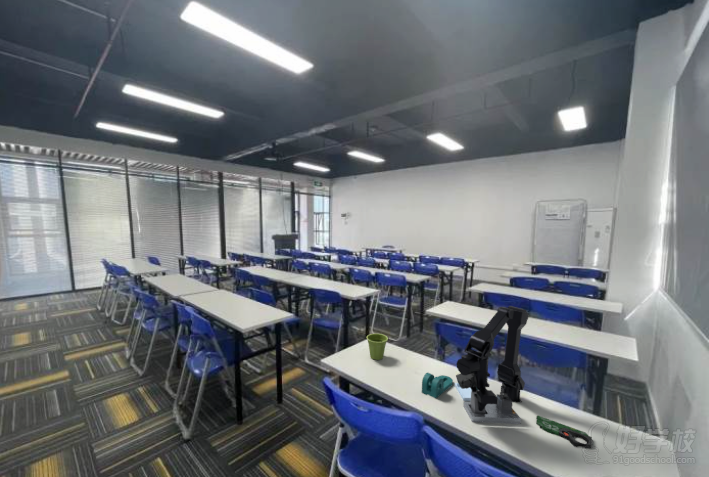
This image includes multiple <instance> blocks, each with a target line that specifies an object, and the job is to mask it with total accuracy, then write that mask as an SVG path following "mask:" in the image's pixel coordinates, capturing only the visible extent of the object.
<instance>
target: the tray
mask: <svg viewBox="0 0 709 477" xmlns="http://www.w3.org/2000/svg"><path fill="white" fill-rule="evenodd" d="M453 384H454V387H455V389H456V391H457V393H458V394H459V396H460V398H461V400H462V401H463V402H471V392H472V391H471V388H467V389H466V388H465V389H462V388H461V387H460V385H459V384H458V382H454V383H453Z"/></svg>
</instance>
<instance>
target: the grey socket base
mask: <svg viewBox="0 0 709 477" xmlns="http://www.w3.org/2000/svg"><path fill="white" fill-rule="evenodd" d="M496 396H497V398H498V404H487V405H486V406H485V414H474V413H473V412H472V410H471V401H463V404H462V407H463V409H464V410H465V412H466V414H467V416H468V417H469V419H470V421H471V422H472V423H489V424H491V423H492V424H515V425H516V424H517V425H519V424H521V421H522V418H521V417H520V415H519V414H518V413H517V412H516V411H515V410H514V409H513V402H512V400H511V399H510V398H509V397H508V395H507V394H506V393H504V392H503V393H502V395H501V394H500V393H499V394H496Z"/></svg>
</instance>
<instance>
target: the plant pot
mask: <svg viewBox="0 0 709 477" xmlns="http://www.w3.org/2000/svg"><path fill="white" fill-rule="evenodd" d="M366 339H367V343H368V349H369V357H370V358H371V359H372V360H376V361H381V360H383V359H384V355H385V351H386V350H385V348H386V345H387V342H388V339H389V338H388V336H387V335H385V334H383V333H370V334H368V335H367V336H366Z"/></svg>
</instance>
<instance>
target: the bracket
mask: <svg viewBox="0 0 709 477" xmlns="http://www.w3.org/2000/svg"><path fill="white" fill-rule="evenodd" d="M421 381H422V382H421V393H422V394H423V395H425V396H429V397H431V398H433V399H437V398H438V397H439V396H441V395H443V393H444V392H446V391H447V390H448V389H449V388H451V387H452V386H453V384H454V382H453V381H454V379H453V378H452V377H450V376H448V375H441V374H440V375H438V376H434V374H433V373H430V372H426V373H424V375H423V377H422V380H421Z"/></svg>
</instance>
